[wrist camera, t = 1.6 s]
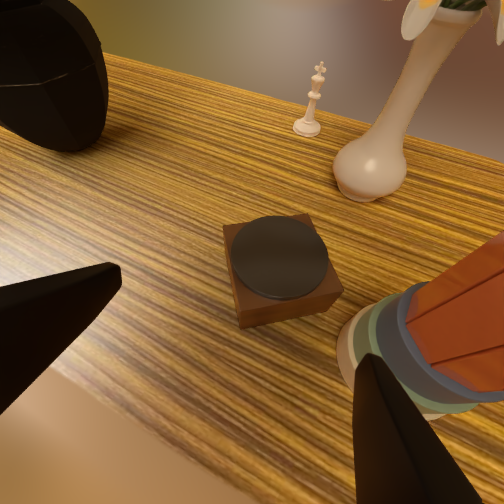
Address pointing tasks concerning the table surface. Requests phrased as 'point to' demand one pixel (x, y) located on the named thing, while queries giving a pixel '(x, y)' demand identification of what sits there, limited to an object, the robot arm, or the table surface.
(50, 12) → the table lamp
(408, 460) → the robot arm
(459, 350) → the terracotta octagonal pot
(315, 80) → the chess piece
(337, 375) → the table surface
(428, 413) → the disc stack
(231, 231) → the coaster stand
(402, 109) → the flower vase
